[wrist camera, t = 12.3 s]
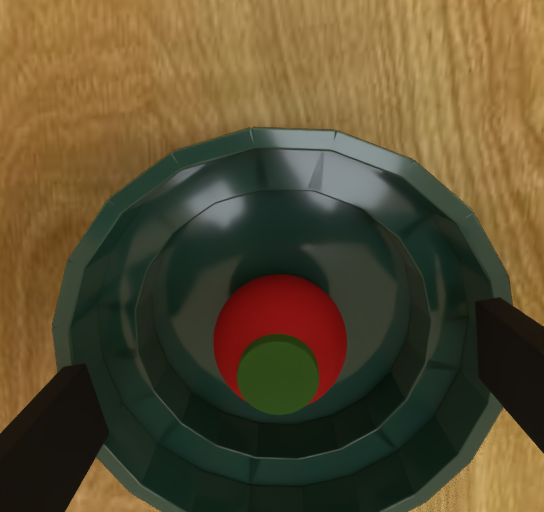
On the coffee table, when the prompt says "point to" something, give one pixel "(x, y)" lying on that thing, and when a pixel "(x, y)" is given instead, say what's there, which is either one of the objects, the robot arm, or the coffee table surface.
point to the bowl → (302, 263)
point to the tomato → (280, 343)
